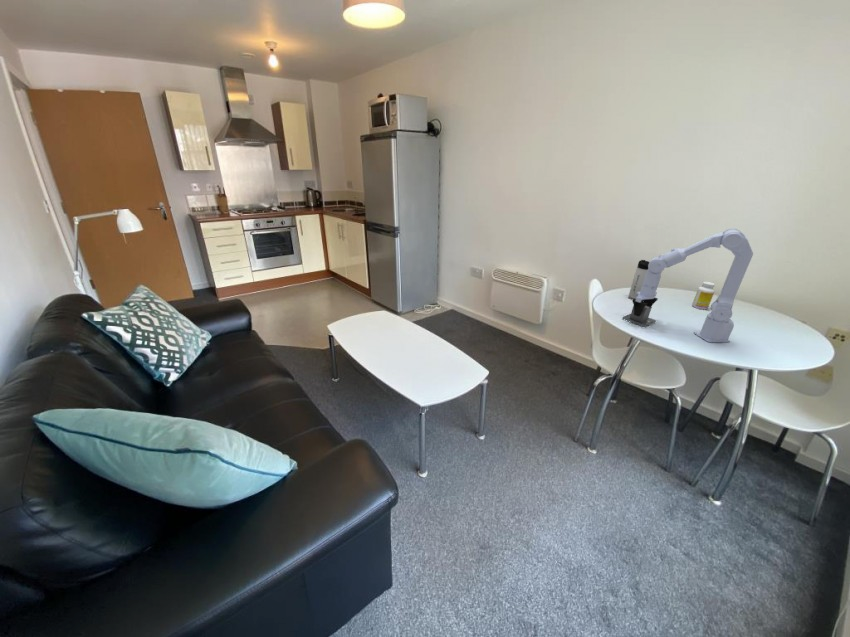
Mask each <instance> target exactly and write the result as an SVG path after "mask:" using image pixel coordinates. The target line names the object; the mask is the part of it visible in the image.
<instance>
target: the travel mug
mask: <svg viewBox="0 0 850 637" xmlns="http://www.w3.org/2000/svg"><path fill="white" fill-rule="evenodd" d="M649 262H650V261H647V260H645V259H641V260H639V261H638V263H637V267H636V269H635V273H634V276H633V279H632V283H631V286H630V288H629V292H628V296H627V297H628V299H630V300H632V301H633V299H636V297H638V294H637V292H640V291H641V287H642V284H643V281H644V278H645V275H646V273H647V270H648V265H649Z"/></svg>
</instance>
